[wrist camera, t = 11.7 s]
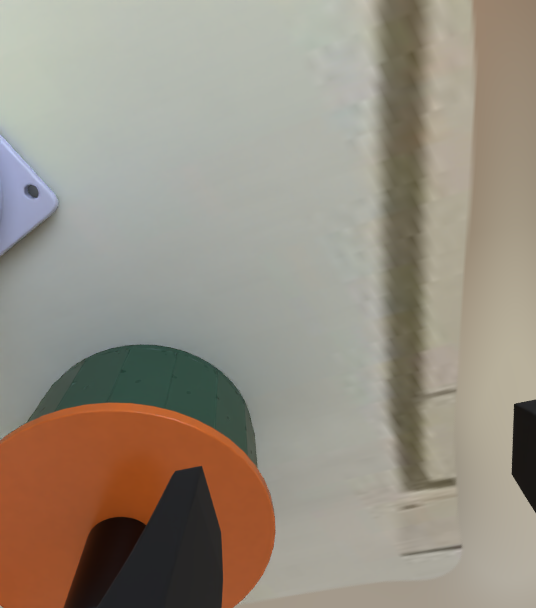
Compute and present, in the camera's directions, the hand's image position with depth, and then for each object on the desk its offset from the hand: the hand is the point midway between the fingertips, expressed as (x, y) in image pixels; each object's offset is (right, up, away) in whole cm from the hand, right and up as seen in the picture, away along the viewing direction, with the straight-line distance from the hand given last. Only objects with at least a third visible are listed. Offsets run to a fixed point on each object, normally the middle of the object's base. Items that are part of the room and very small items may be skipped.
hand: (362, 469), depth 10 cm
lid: (-7, -5, +7) cm, 11 cm away
